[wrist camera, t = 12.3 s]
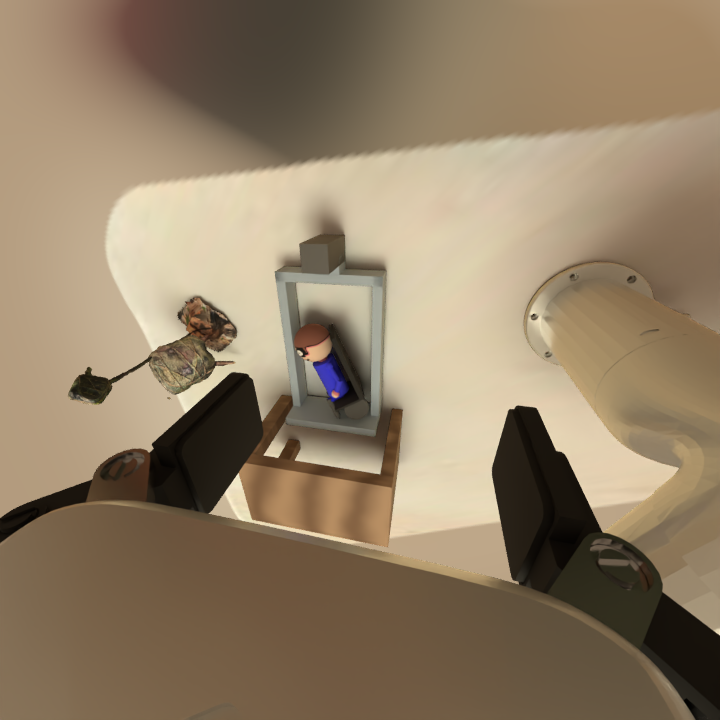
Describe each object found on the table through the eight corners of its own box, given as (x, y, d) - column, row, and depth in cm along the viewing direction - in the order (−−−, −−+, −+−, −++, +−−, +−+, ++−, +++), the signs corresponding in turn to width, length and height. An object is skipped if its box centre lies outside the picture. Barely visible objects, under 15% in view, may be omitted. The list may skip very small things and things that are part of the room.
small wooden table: (402, 409, 48) (392, 487, 36) (398, 464, 54) (388, 547, 42) (281, 395, 52) (234, 461, 39) (290, 447, 58) (250, 519, 45)
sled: (387, 235, 36) (378, 245, 30) (381, 410, 49) (374, 441, 43) (280, 233, 38) (252, 242, 33) (301, 400, 51) (283, 428, 45)
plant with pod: (218, 367, 52) (114, 455, 35) (173, 308, 48) (31, 375, 31) (253, 351, 49) (158, 439, 32) (209, 287, 45) (73, 349, 28)
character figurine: (342, 401, 50) (302, 318, 45) (383, 395, 47) (346, 305, 42) (324, 434, 44) (275, 343, 38) (371, 429, 41) (325, 329, 35)
